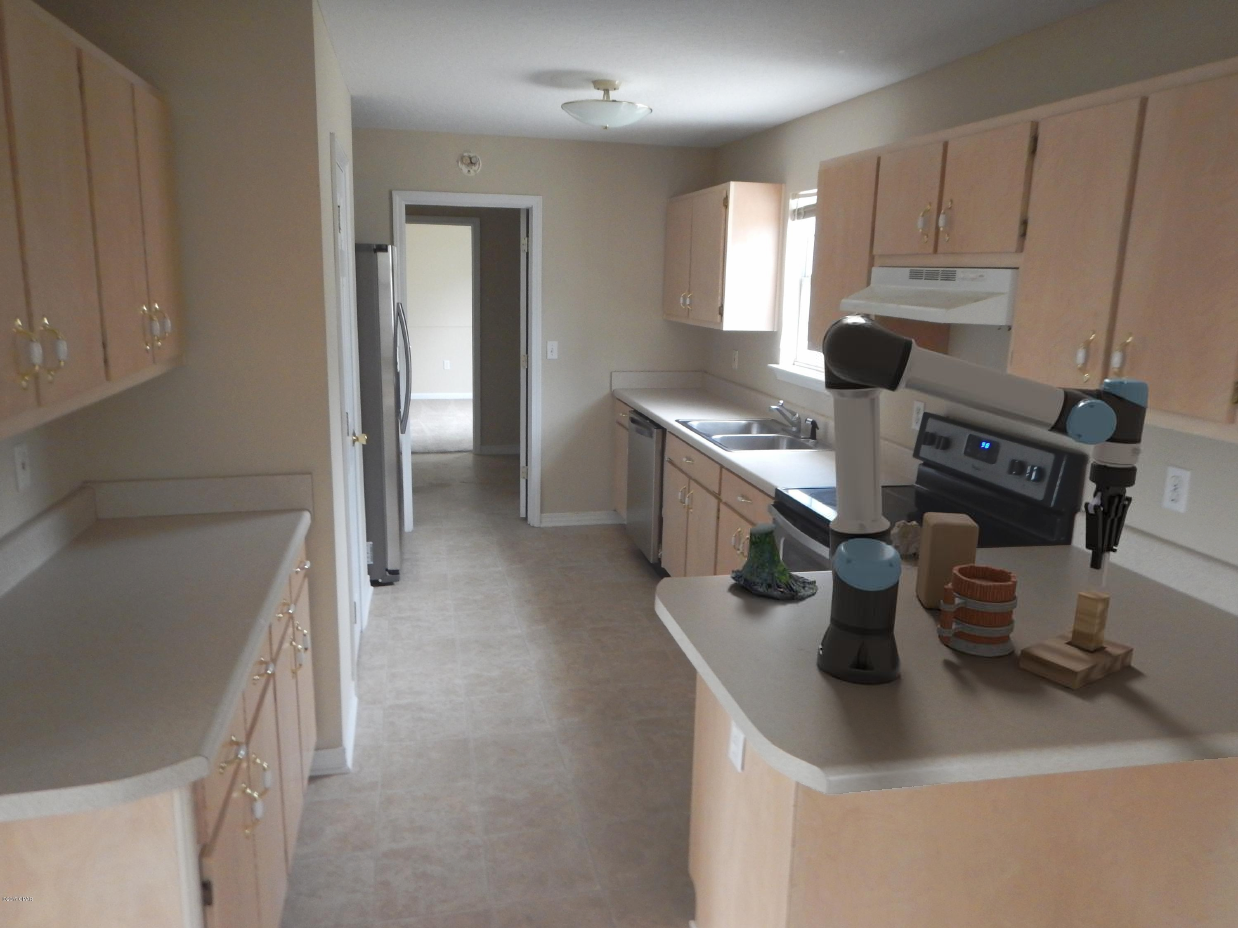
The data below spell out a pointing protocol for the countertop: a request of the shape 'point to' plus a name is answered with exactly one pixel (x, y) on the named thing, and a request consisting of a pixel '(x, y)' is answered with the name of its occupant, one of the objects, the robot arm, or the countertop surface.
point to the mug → (979, 611)
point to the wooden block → (943, 553)
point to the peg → (1090, 621)
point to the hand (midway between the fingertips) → (1096, 583)
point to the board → (1074, 660)
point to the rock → (906, 538)
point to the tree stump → (770, 569)
